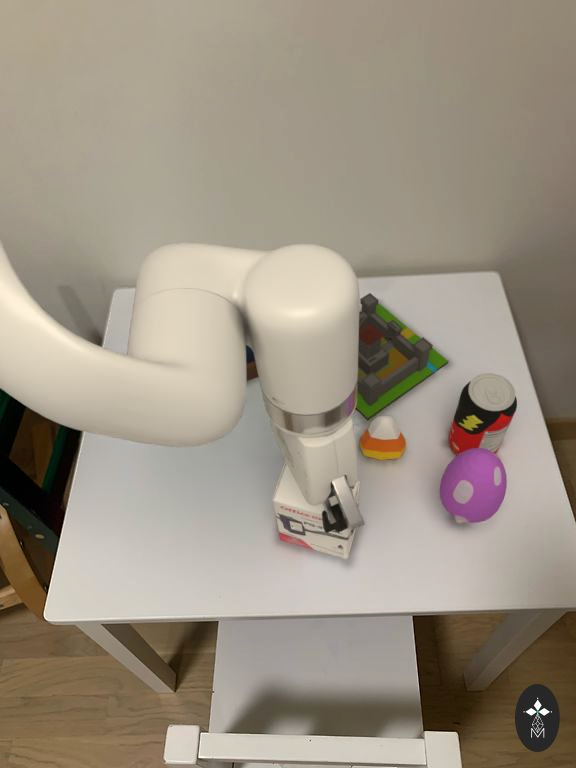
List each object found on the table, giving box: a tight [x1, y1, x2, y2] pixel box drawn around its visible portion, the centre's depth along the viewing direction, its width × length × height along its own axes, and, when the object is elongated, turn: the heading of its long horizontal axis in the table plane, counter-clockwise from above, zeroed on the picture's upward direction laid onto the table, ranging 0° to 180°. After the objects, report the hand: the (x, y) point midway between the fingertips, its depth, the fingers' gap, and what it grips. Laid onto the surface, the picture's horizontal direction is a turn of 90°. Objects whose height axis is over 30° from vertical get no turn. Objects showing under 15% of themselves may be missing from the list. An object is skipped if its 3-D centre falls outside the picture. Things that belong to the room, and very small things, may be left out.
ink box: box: [272, 461, 361, 560], centre depth 66 cm, size 8×5×12 cm, turn 72°
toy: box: [438, 448, 508, 524], centre depth 65 cm, size 7×7×15 cm
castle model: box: [355, 292, 449, 421], centre depth 83 cm, size 15×15×7 cm
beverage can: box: [448, 372, 518, 456], centre depth 72 cm, size 6×6×12 cm
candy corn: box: [358, 414, 407, 461], centre depth 74 cm, size 6×3×8 cm, turn 83°
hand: (318, 483), depth 61 cm, fingers open, 9 cm apart
